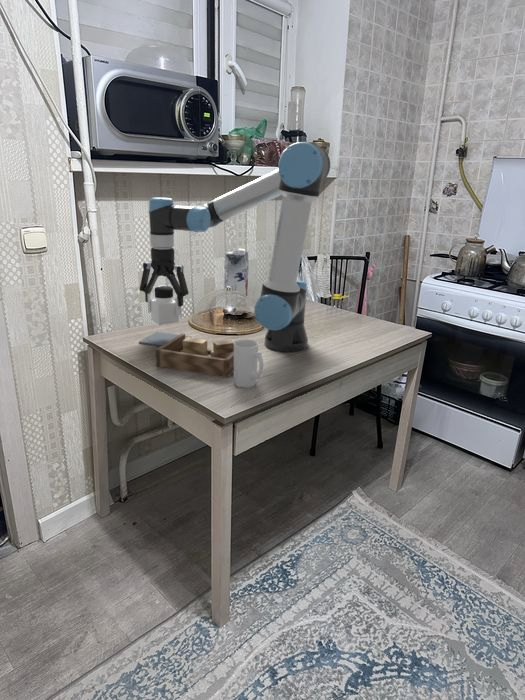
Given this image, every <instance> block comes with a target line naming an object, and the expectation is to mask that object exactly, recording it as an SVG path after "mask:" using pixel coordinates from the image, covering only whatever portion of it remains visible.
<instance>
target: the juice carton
mask: <svg viewBox="0 0 525 700" xmlns="http://www.w3.org/2000/svg"><path fill="white" fill-rule="evenodd" d="M224 255H225V256H224V270H223V271H224V274H223V276H224V281H223V282H224V285H223V286H224V289H225V288H226V287H227V286H230V287H231V290H232V291H238V292H240V293H242V294H244V295H246V296H247V297H248V295H249V294H248V293H249V291H248V290H249V251H247V250H246V249H244V248H238V249H237V250H229V251H228V252H226V253H225V254H224ZM224 289H223V290H224Z"/></svg>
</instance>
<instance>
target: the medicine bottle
mask: <svg viewBox="0 0 525 700" xmlns="http://www.w3.org/2000/svg"><path fill="white" fill-rule="evenodd" d="M150 318H151V319H150V320H152V322H154V323H156V324H157V325H158V326H162V325H169V324H175V323H176V324H177V323H179V316H176V310H175V299H174V289H173V287H172V286H169V285H159V286H156V287H155V288H154V300H151V313H150Z"/></svg>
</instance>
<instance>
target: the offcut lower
mask: <svg viewBox="0 0 525 700" xmlns="http://www.w3.org/2000/svg"><path fill="white" fill-rule="evenodd" d="M211 350H212V351H211V354H210V357H216V358H222V359H226V358H227V357H228V356H229V355H230V354H231V353H232V352H230V353H222V354H216V353H215V352H214V351H213V349H211Z"/></svg>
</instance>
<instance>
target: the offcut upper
mask: <svg viewBox="0 0 525 700" xmlns="http://www.w3.org/2000/svg"><path fill="white" fill-rule="evenodd" d="M234 342H235V341H234V340H232V339H228V340H220V341H213V343H212V345H213V347H212V350H213V351H214V352H215V353H216V354H222V353H230V352H233V351H234Z"/></svg>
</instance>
